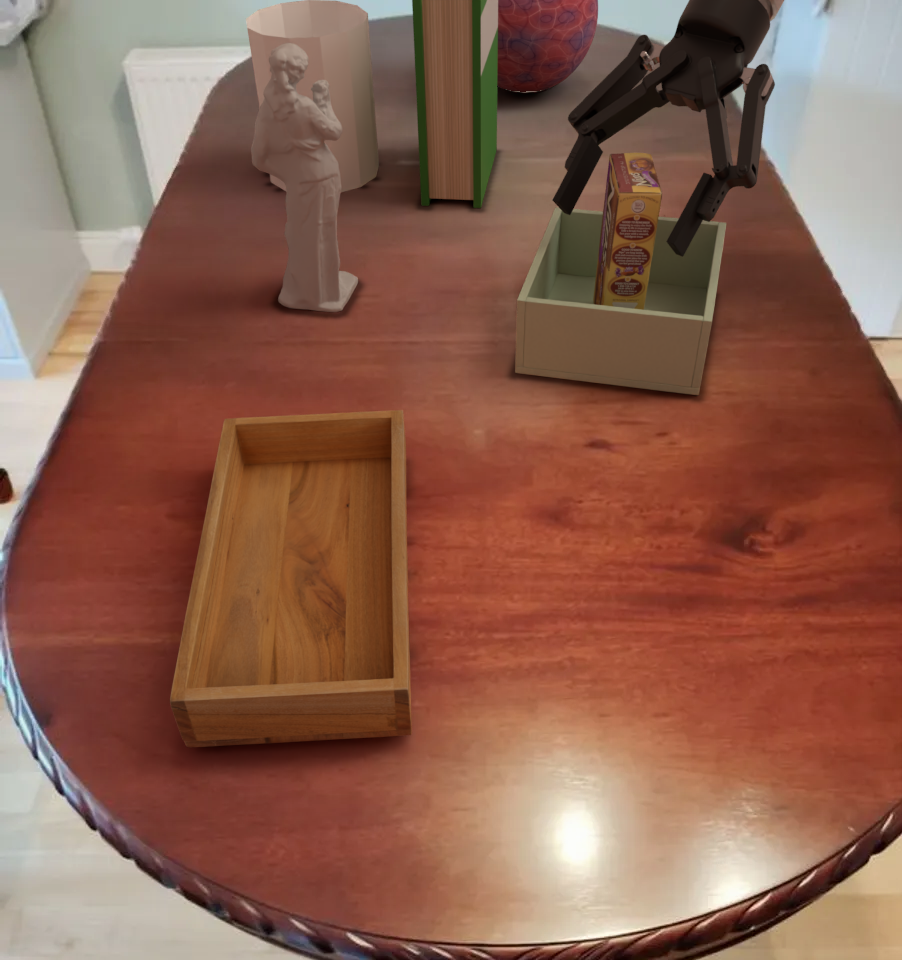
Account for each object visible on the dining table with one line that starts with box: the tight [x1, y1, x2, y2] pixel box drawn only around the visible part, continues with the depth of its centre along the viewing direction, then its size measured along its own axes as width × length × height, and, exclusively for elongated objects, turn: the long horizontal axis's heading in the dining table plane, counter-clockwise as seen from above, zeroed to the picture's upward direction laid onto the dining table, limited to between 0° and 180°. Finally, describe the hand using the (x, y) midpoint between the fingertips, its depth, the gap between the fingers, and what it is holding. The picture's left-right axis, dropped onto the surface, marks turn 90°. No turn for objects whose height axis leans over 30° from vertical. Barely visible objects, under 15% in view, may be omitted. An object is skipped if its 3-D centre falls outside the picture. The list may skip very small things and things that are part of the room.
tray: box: [169, 409, 413, 748], centre depth 75 cm, size 31×15×6 cm, turn 3°
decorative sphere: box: [497, 0, 599, 94], centre depth 143 cm, size 20×20×20 cm
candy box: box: [593, 152, 663, 310], centre depth 96 cm, size 9×4×15 cm, turn 178°
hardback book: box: [411, 0, 498, 209], centre depth 120 cm, size 18×7×24 cm, turn 172°
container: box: [245, 0, 380, 194], centre depth 124 cm, size 14×14×18 cm
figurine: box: [250, 43, 359, 313], centre depth 100 cm, size 10×10×25 cm
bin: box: [514, 206, 727, 396], centre depth 99 cm, size 18×20×8 cm
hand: (615, 228), depth 92 cm, fingers open, 12 cm apart
